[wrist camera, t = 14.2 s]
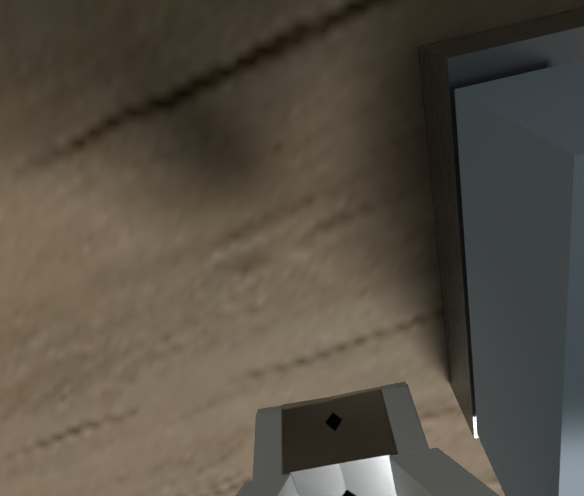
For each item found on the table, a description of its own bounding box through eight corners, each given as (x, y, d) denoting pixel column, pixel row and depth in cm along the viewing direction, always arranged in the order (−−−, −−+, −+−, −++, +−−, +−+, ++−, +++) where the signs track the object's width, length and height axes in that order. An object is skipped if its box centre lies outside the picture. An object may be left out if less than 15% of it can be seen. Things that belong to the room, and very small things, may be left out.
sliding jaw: (477, 434, 13) (553, 601, 9) (454, 89, 9) (574, 155, 5) (573, 416, 13) (688, 579, 9) (596, 56, 9) (817, 102, 5)
